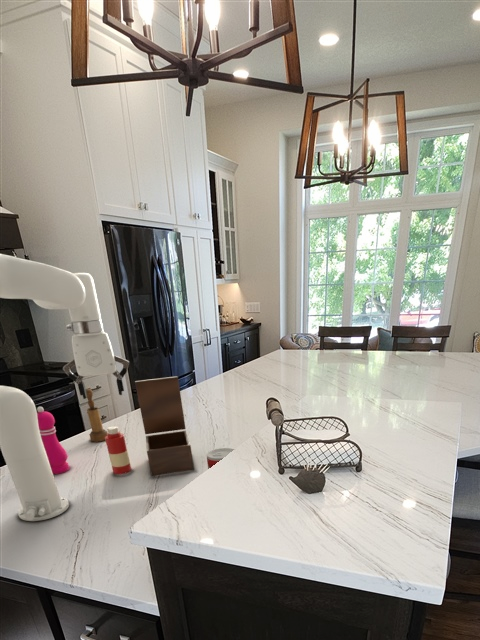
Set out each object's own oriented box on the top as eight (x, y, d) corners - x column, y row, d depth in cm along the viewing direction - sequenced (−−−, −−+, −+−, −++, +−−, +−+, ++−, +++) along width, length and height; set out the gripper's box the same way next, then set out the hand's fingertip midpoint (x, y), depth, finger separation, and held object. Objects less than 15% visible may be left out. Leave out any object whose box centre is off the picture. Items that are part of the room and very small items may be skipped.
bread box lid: (177, 376, 140) (176, 373, 144) (134, 381, 138) (134, 377, 142) (185, 429, 149) (184, 424, 153) (145, 434, 147) (144, 429, 151)
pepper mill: (63, 474, 146) (43, 409, 136) (42, 474, 148) (21, 410, 137) (75, 466, 152) (57, 403, 142) (55, 465, 154) (35, 403, 143)
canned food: (207, 490, 129) (202, 451, 124) (235, 483, 132) (231, 445, 126) (216, 500, 123) (211, 460, 118) (245, 493, 126) (241, 454, 120)
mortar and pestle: (112, 437, 176) (100, 387, 166) (99, 442, 171) (86, 391, 162) (100, 435, 179) (88, 386, 169) (87, 440, 174) (73, 390, 165)
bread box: (194, 471, 141) (190, 445, 137) (152, 478, 139) (146, 451, 135) (189, 455, 154) (185, 430, 150) (150, 460, 152) (145, 435, 148)
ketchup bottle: (132, 474, 143) (121, 429, 135) (113, 477, 142) (102, 431, 134) (132, 468, 147) (122, 423, 140) (114, 471, 146) (103, 426, 139)
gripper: (51, 332, 118) (69, 402, 127) (121, 326, 121) (134, 395, 130) (55, 329, 125) (72, 396, 133) (122, 324, 127) (134, 390, 136)
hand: (103, 396), depth 132 cm, fingers open, 9 cm apart
